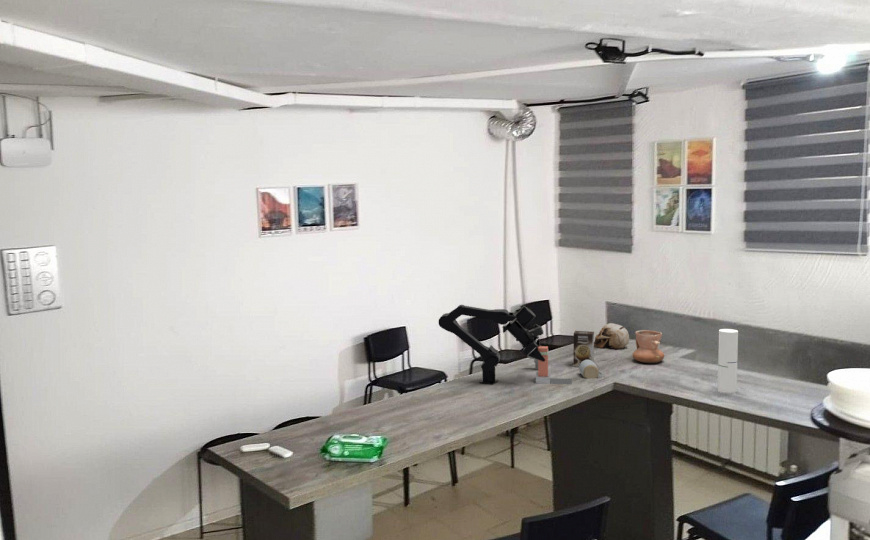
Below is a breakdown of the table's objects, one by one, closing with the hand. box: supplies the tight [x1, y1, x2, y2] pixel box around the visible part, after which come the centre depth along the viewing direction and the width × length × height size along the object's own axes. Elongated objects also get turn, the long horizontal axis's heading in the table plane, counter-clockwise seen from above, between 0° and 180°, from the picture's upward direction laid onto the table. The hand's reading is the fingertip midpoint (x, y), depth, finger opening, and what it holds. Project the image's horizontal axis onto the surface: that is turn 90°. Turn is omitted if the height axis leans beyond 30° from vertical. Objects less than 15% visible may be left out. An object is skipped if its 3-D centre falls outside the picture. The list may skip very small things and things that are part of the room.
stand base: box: [533, 371, 573, 385], centre depth 306 cm, size 16×8×4 cm, turn 79°
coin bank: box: [594, 322, 630, 350], centre depth 369 cm, size 16×17×13 cm
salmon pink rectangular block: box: [537, 345, 549, 376], centre depth 306 cm, size 4×4×12 cm
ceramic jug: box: [632, 329, 665, 364], centre depth 338 cm, size 18×14×14 cm
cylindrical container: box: [717, 328, 739, 394], centre depth 288 cm, size 7×7×25 cm
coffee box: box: [572, 330, 595, 368], centre depth 333 cm, size 9×6×16 cm
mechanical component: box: [527, 356, 538, 371], centre depth 325 cm, size 3×10×10 cm, turn 53°
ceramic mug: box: [578, 360, 606, 379], centre depth 312 cm, size 11×8×8 cm
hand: (545, 358), depth 305 cm, fingers open, 9 cm apart
